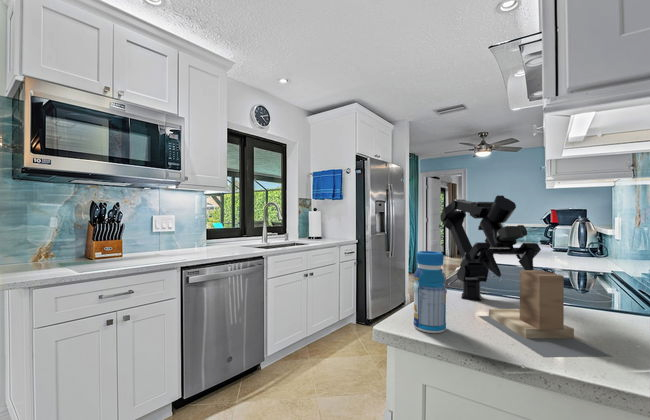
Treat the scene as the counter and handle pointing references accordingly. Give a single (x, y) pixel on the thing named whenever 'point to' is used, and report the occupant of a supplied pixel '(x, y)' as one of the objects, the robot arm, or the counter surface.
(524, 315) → the walnut block
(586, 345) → the rubber mat
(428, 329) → the beverage bottle
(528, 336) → the birch board
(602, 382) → the counter surface
